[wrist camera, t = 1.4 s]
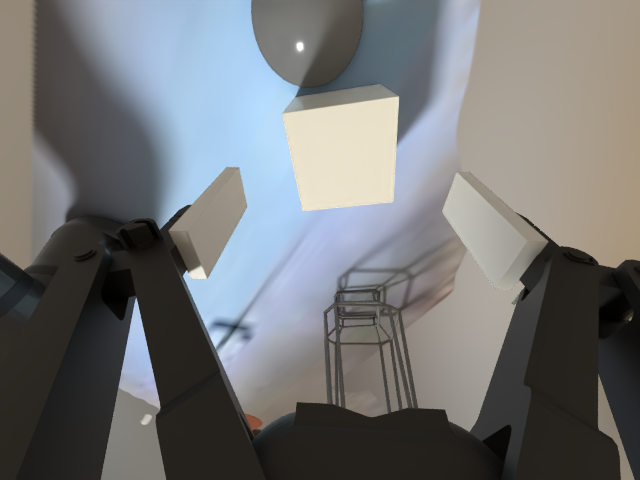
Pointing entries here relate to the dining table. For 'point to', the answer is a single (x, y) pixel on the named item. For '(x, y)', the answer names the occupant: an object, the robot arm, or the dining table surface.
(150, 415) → the dining table surface
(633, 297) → the robot arm
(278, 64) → the coaster
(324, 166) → the cream cube
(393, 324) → the geometric lantern
